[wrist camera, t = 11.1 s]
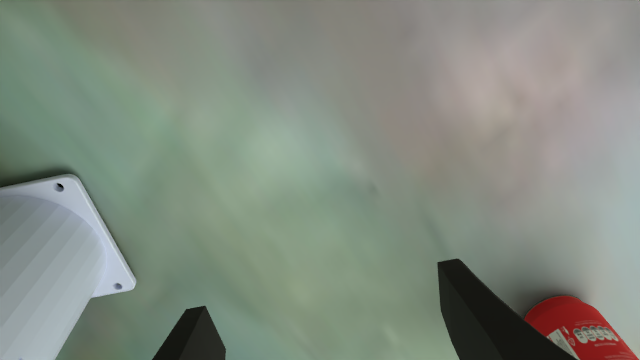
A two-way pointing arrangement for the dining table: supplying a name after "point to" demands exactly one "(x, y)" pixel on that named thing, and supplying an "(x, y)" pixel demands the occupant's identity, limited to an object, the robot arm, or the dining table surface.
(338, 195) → the dining table surface
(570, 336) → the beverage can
